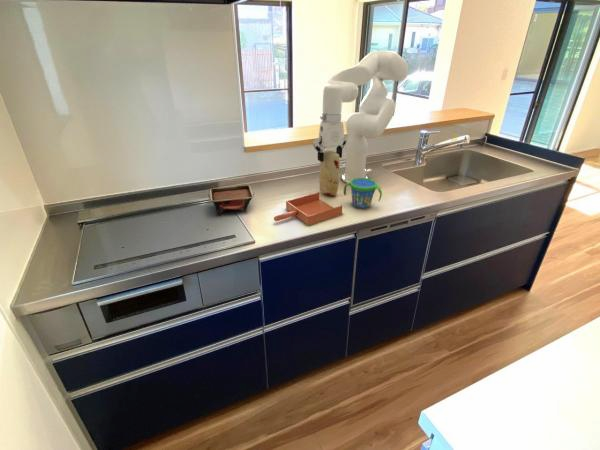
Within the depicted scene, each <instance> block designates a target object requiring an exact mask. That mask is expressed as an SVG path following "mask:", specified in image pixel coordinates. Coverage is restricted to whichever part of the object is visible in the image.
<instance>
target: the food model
mask: <svg viewBox="0 0 600 450" xmlns="http://www.w3.org/2000/svg"><path fill="white" fill-rule="evenodd" d="M323 153H324V160H323V162H321V161H319V178H318V179H319V180H318V181H319V183H318V185H319V192H320V193H321V194H323V195H325V196H327V197H330V198H331V197H335V196H336V195H337V194H338V190H339V185H340V184H339V183H340V157H339V154H337V153H336V151H333V150H323Z"/></svg>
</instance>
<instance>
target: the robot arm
mask: <svg viewBox="0 0 600 450" xmlns="http://www.w3.org/2000/svg"><path fill="white" fill-rule="evenodd" d="M408 74H409V65H408V62H407V61H406V59H404V58H403V57H402V56H401V55H400V54H398V53H397V52H395V51H393V50H372V51H370V52H369V53H367V55H365V56H364V57H363V58H362V59H361V60H360V61H359V62H358V63H357V64H356V65H354V66H351V67H347V68H345V69H342V70H341V71H338V72H336V73H335V74H333V75H332V76H331V77H330V78H328V80H327V81H326V82H325V84H324V86H323V87H322V113H321V115H320V117H319V119H320V125H319V128H318V129H319V131H318V138H315V140H314V141H313V142H312V145H313V149H314V150H316V152H317V161H319V162H320V161H321V162H323V160H324V153H323V151H325V149H329V148H334V147H336V149H335V152H336V153H337V154H339V159H342V158H343V149H344V147H345V145H346V151H345V152H346V153H345V154H346V155H345V156H346V157H345V169H344V174H342V175H341V180H342V182H344V183H346V184H347V183H348V182H350V181H352V180H353V179H357V178H367V179H369V178H368V176H367V175H368V174H372V173H373V170H372V168H366V164H367V155H368V154H367V153H368V140H367V138H372V139H379V138H380V137H381V136H382V135H383V134H384V132H385V130H386V129H387V127H388V125H389V124H390V122H391V121H392V118H393V117H394V115H395V112H396V111H395V110H396V103H395V100H394V99H392V98H391V97H387V96H388V88H387V86H386V84H385V81H391V82H402V81H404V80H405V79H406V78H407V76H408ZM368 83H370V88H369V89H368V91H367V92H366V94H365V96H364V97H363V99H362V101H361V102H360V104H359V108H358V111H359V112H353V113H350V114H349V115H348V116H347V117H346V120H345V126H344V121H343V120H342V110H343V103H346V104H347V103H352V102H354V101H355V100H357V98H358V97H359V86H363V85H366V84H368ZM344 127H345V129H344ZM345 130H346V134H345ZM366 137H367V138H366Z"/></svg>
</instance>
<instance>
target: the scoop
mask: <svg viewBox="0 0 600 450" xmlns="http://www.w3.org/2000/svg"><path fill="white" fill-rule="evenodd" d="M320 193H321V191H317V192H313V193H309V194H305V195H303V196H299V197H294V198H292V199H288V200H286V201H285V209H286V210H287V211H288V212H285V213H282V214H278V215H275V216H274V217H273V221H274V222H279V221H282V220H286V219H289V218H292V217H297V219H300V220H301V221H302V222H303V223H305V224H306V225H307V226H312V225H315V224H318V223H320V222H324V221H326V220H329V219H333V218H336V217H339V216H341V215H343V204H341V205H338V206H335V207H332V206H331V205H330V204H327V203H326V202H324V201H323V200H321V199H320V196H321V195H320Z"/></svg>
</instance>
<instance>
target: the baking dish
mask: <svg viewBox="0 0 600 450" xmlns="http://www.w3.org/2000/svg"><path fill="white" fill-rule="evenodd" d="M254 196H255V193H254V191H253V188H252V187H251V185H250V184H241V185H232V186H231V185H230V186H224V187H223V186H222V187H213V188H210V189H209V191H208V198H209V200H210V201H211V202H212V203H213V205H214V208H215V211H216V213H217V216H220V215H221V213H223V212H225V211H226V210H230V211H236V210H239V211H243V212H247V209H248V205H249V204H250V202H251V201H252V199H253V198H254Z"/></svg>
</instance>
